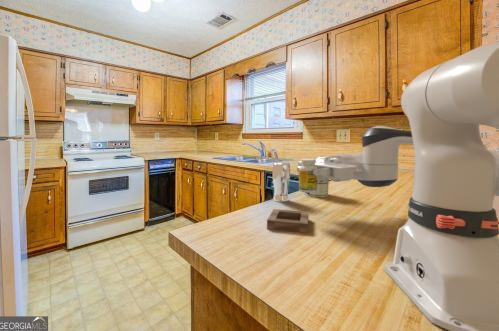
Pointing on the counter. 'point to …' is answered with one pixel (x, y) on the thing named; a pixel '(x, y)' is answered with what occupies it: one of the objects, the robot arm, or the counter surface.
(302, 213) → the bottle holder
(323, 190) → the coffee can
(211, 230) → the counter surface
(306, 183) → the supplement bottle
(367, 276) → the counter surface
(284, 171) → the beer glass
